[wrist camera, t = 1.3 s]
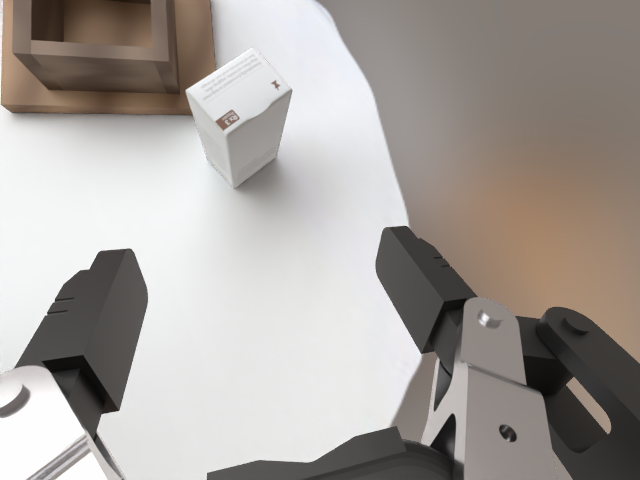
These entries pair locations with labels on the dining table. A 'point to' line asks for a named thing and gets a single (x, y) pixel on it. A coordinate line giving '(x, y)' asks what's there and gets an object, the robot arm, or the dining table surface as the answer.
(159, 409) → the dining table surface
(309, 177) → the dining table surface
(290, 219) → the dining table surface
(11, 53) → the sleeve stand
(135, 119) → the dining table surface
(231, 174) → the skincare box
